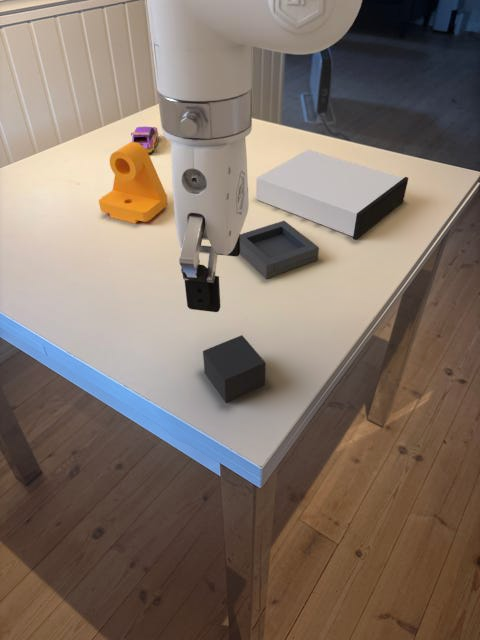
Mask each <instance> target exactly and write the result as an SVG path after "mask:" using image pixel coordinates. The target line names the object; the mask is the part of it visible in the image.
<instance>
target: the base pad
mask: <svg viewBox="0 0 480 640" xmlns="http://www.w3.org/2000/svg"><path fill="white" fill-rule="evenodd" d="M319 251H320V247H319V246H318V245H317V244H315V243H314V242H313V241H312V240H310V239H309V238H308V237H306V236H305V235H304V234H302V233H301V232H300V231H299V230H297V229H296V228H295V227H293V226H292V225H291V224H289V223H288V222H287V221H286V220H281V221H279V222H274V223H271V224H268V225H266V226H262V227H259V228H255V229H253V230H250V231H246V232H243V233H240V254H239V255H240V256H241V257H242V258H244V259H245V260H246V261H247V262H248V263H249V264H250V265H251V266H252V267H253V268H254V269H255V270H256V271H257V272H259V274H260V275H262V277H263V278H265V279H266V280H267V279H270V278H272V277H276V276H278V275H282V274H284V273H286V272H289V271H292V270H294V269H297V268H300V267H303V266H305V265H308V264H312V263H313V262H317V261H318V260H319Z"/></svg>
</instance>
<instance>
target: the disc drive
mask: <svg viewBox="0 0 480 640" xmlns="http://www.w3.org/2000/svg"><path fill="white" fill-rule="evenodd" d="M255 181H256V183H255V185H256V189H255V190H256V192H255V193H256V195H255V196H256V198H255V199H256V200H257V201H260V202H263V203H265V204H267V205H270V206H273V207H275V208H278V209H281V210H282V211H285V212H288V213H291V214H294V215H296V216H299V217H301V218H304V219H306V220H309V221H311V222H315V223H317V224H319V225H322V226H324V227H327V228H329V229H332V230H335V231H337V232H340V233H342V234H345V235H347V236H351V237H352V239H353V240H354V241H357V240H358V239H360V237H362V236H363V235H364V234H365V233H366V232H367V231H369V230H370V229H371V228H373V227H374V226H375V225H376V224H378V223H379V222H380V221H382V220H383V219H384V218H385V217H386V216H388V215H389V214H390V213H392V211H394V210H395V209H396V208H397V207H399V206H400V205H401V204H402V203H404V201H405V195H406V191H407V187H408V182H409V177H408V176H404V177H402V176H398V175H396V174H395V175H394V174H391V173H389V172H385V171H381V170H378V169H375V168H372V167H368V166H365V165H362V164H358V163H355V162H352V161H349V160H345V159H342V158H338V157H335V156H332V155H328V154H325V153H322V152H318V151H315V150H311V149H306V150H304V151H303V152H301V153H299V154H297V155H295V156H294V157H292V158H290V159H288V160H286V161H285V162H283V163H280V164H279V165H277V166H275V167H273V168H272V169H270V170H268V171H266V172H265V173H262V174H261V175H259V176H257V177H256V180H255Z"/></svg>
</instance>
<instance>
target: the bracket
mask: <svg viewBox="0 0 480 640" xmlns="http://www.w3.org/2000/svg"><path fill="white" fill-rule="evenodd" d="M149 154H150V153H148V152H147V150H146V149H145V148H144V147H143V146H142V145H141V144H139V143H136V142H132V141H131V142H129V143H127V144H125V145H123V146H122V147H120V148H119V149H117V150H116V151H114V152H113V153H111V155H110V156H109V166H110V169H111V171H112V173H113V174H114V179H113V186H112V190H110V191H109V192H108V193H107V194H105V195H104V196H102V197H101V198H99V199H98V204H99V205H98V206H99V209H100V211H101V212H102V213H106V214H109V217H110V218H111V219H116V220H119V221H123V222H126V223H127V222H128V223H131V224H137V223H138V222H139V221H140V222H143V223H145V222H150V221H151V220H152V219H153V218H154V217H155V216H157V214H159V213H160V212H161V211H163V210H164V209H165V208H166V207H168V205H169V202H168V195H167V193H166V191H165V189H164V186H163V184H162V181H161V179H160V177H159V175H158V172H157V170H156V168H155V165H154V163H153V161H152V159H151V156H150V155H149Z"/></svg>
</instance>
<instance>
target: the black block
mask: <svg viewBox="0 0 480 640" xmlns="http://www.w3.org/2000/svg"><path fill="white" fill-rule="evenodd" d="M202 358H203V368H204V369H203V371H204V375H205V376H206V377H207V379H208V380H209V382H210V383H211V384H212V386H213V387H214V389H215V390H216V392H217V393H218V394H219V396H220V397H221V398H222V400H223V401H224V402H225V403H229V402H231V401H233V400H235V399H237V398H239V397H242V396H244V395H246V394H248V393H250V392H253V391H254V390H257V389H259V388H262V387H263V386H265V385H266V361H265V360H264V359H263V358H262V356H261V355H260V353H258V352H257V350H256V349H255V348H254V347H253V346H252V345H251V343H249V342H248V340H247V339H246V338H245V336H243V334H241V335H238V336H236V337H233V338H231V339H228V340H226V341H223V342H221V343H219V344H217V345H214V346H211V347H208V348H205V349H204V350H202Z"/></svg>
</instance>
